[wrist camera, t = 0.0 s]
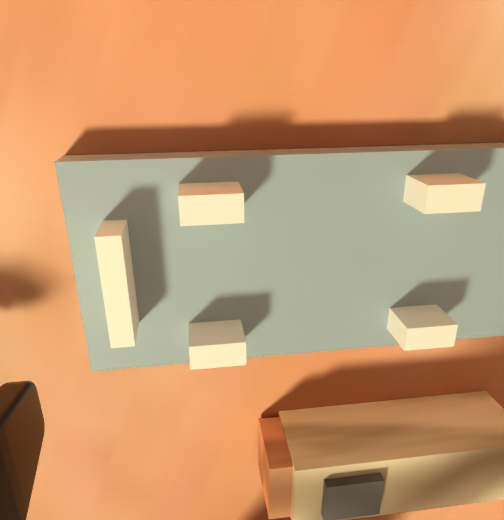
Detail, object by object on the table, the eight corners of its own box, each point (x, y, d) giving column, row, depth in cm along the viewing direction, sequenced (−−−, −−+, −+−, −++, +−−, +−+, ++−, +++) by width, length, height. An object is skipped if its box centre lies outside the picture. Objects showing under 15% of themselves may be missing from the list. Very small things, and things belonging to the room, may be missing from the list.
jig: (495, 320, 26) (539, 356, 23) (96, 353, 23) (83, 399, 20) (537, 141, 22) (597, 153, 19) (63, 155, 19) (40, 172, 16)
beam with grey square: (472, 437, 30) (524, 504, 25) (257, 462, 28) (272, 538, 23) (484, 388, 28) (542, 450, 24) (257, 410, 26) (273, 482, 22)
